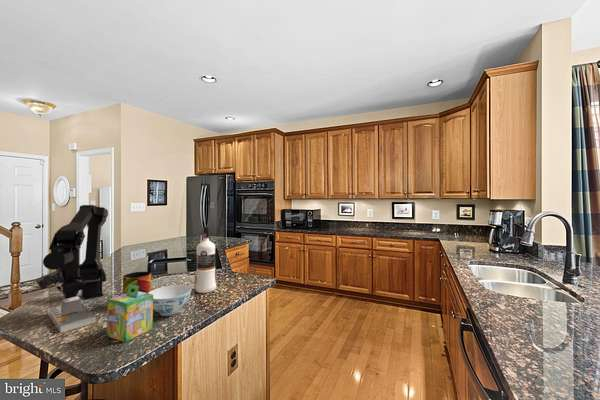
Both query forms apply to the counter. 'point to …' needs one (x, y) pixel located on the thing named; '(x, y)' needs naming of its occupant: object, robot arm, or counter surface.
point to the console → (71, 318)
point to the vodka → (205, 264)
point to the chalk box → (129, 314)
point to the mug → (137, 281)
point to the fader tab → (70, 305)
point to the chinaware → (170, 299)
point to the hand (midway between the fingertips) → (68, 305)
